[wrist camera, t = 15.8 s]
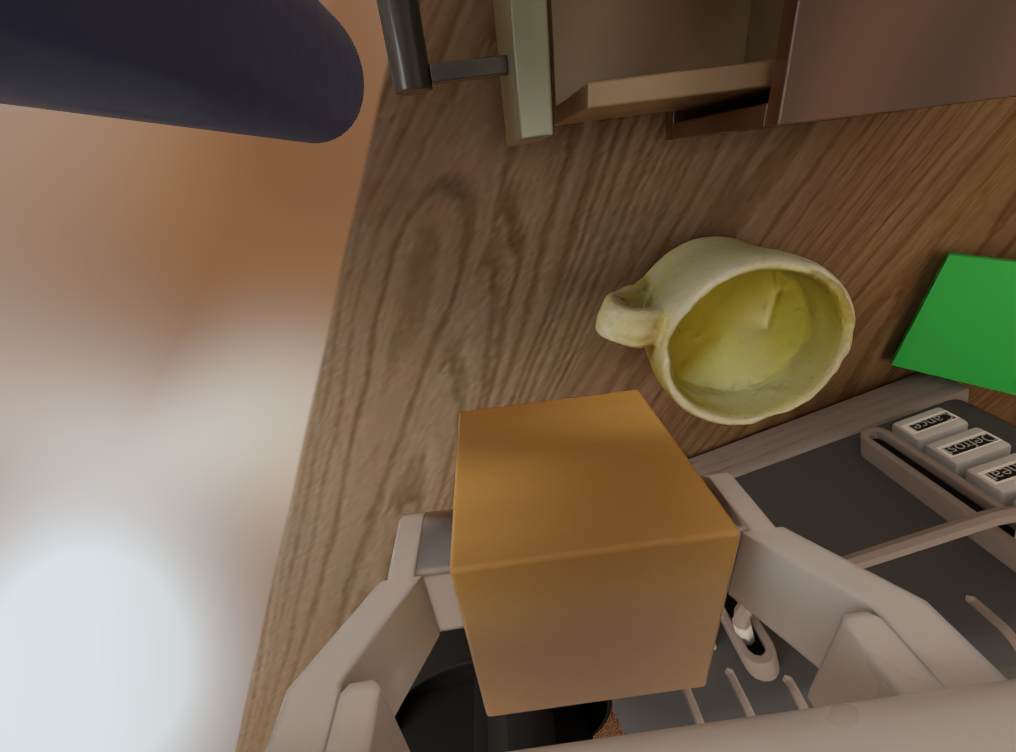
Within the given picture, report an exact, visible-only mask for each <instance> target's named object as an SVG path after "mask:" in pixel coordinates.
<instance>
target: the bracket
mask: <svg viewBox="0 0 1016 752" xmlns="http://www.w3.org/2000/svg"><path fill="white" fill-rule="evenodd" d="M891 365H893V366H897V367H901V368H905V369H909V370H914V371H918V372H922V373H926V374H930V375H934V376H938V377H943V378H947V379H951V380H955V381H959V382H963V383H967V384H971V385H976V386H980V387H984V388H988V389H992V390H996V391H1000V392H1005V393H1009V394H1013V395H1016V260H1013V259H1004V258H995V257H987V256H978V255H969V254H960V253H952V252H947V254H946V256H945V257H944V259H943V261H942V263H941V265H940V267H939V269H938V271H937V273H936V275H935V277H934V279H933V281H932V282H931V284H930V286H929V288H928V290H927V292H926V294H925V296H924V298H923V300H922V302H921V304H920V306H919V307H918V309H917V311H916V313H915V315H914V317H913V319H912V321H911V323H910V325H909V327H908V329H907V331H906V332H905V334H904V336H903V338H902V340H901V342H900V344H899V346H898V348H897V350H896V352H895V354H894V356H893V357H892V362H891Z"/></svg>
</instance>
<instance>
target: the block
mask: <svg viewBox="0 0 1016 752" xmlns="http://www.w3.org/2000/svg"><path fill="white" fill-rule="evenodd" d="M739 540H740V531H739V529H738V528H737V526H736V525H735V523H734V522H733V521H732V519H731V518H730V516H729V515H728V514H727V512H726V511H725V510H724V508H723V507H722V505H721V504H720V503H719V501H718V500H717V498H716V497H715V496H714V494H713V493H712V492H711V490H710V489H709V487H708V486H707V485H706V483H705V482H704V481H703V479H702V478H701V476H700V475H699V474H698V472H697V471H696V469H695V468H694V467H693V465H692V464H691V463H690V461H689V460H688V458H687V457H686V456H685V454H684V453H683V451H682V450H681V449H680V447H679V446H678V445H677V443H676V442H675V440H674V439H673V438H672V436H671V435H670V433H669V432H668V431H667V429H666V428H665V427H664V425H663V424H662V422H661V421H660V420H659V418H658V417H657V416H656V414H655V413H654V411H653V410H652V409H651V407H650V406H649V404H648V403H647V402H646V400H645V399H644V398H643V396H642V395H641V393H640V392H639V391H638V390H630V391H622V392H614V393H606V394H598V395H590V396H582V397H575V398H567V399H559V400H551V401H543V402H535V403H528V404H520V405H512V406H504V407H496V408H488V409H480V410H473V411H465V412H461V413H460V414H459V420H458V437H457V454H456V471H455V488H454V505H453V522H452V539H451V556H450V574H451V578H452V582H453V586H454V590H455V594H456V598H457V602H458V605H459V609H460V613H461V617H462V621H463V625H464V629H465V633H466V637H467V640H468V644H469V648H470V652H471V656H472V660H473V664H474V668H475V672H476V676H477V679H478V683H479V687H480V691H481V695H482V699H483V703H484V707H485V711H486V714H487V716H490V717H491V716H498V715H505V714H512V713H519V712H527V711H534V710H541V709H548V708H555V707H562V706H569V705H576V704H583V703H590V702H597V701H605V700H612V699H619V698H626V697H633V696H640V695H647V694H654V693H661V692H668V691H675V690H683V689H690V688H697V687H703V686H705V685H706V682H707V677H708V673H709V669H710V664H711V660H712V656H713V652H714V647H715V643H716V639H717V634H718V630H719V626H720V621H721V617H722V613H723V609H724V604H725V600H726V596H727V591H728V587H729V583H730V578H731V574H732V570H733V566H734V561H735V557H736V553H737V548H738V544H739Z"/></svg>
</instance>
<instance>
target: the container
mask: <svg viewBox="0 0 1016 752" xmlns="http://www.w3.org/2000/svg"><path fill="white" fill-rule="evenodd" d="M439 634H440V635H439V637H438V639H437V641H436V643H435V644H434V646H433V648H432V650H431V652H430V654H429V655H428V657H427V659H426V661H425V663H424V664H423V666H422V668H421V670H420V672H419V673H418V675H417V677H416V679H415V681H414V683H413V684H412V686H411V688H410V690H409V692H408V693H407V695H406V697H405V699H404V701H403V703H402V704H401V706H400V708H399V710H398V712H397V713H396V715H395V719H396V722H397V724H398V726H399V728H400V730H401V732H402V735H403V737H404V739H405V741H406V743H407V745H408V747H409V750H410V752H508V751H515V750H522V749H529V748H536V747H542V746H549V745H556V744H563V743H570V742H577V741H584V740H591V739H593V736H594V735H595V734H596V733H597V732H598V731H599V730H600V729H601V728H602V727H603V725H604V724H605V723H606V721H607V719H608V718H609V715H610V712H611V708H612V700H605V701H597V702H590V703H583V704H576V705H569V706H562V707H555V708H548V709H541V710H534V711H527V712H519V713H512V714H505V715H498V716H491V717H490V716H487V714H486V711H485V707H484V703H483V699H482V695H481V691H480V687H479V683H478V679H477V676H476V672H475V668H474V664H473V660H472V656H471V652H470V648H469V644H468V640H467V637H466V633H465V629H464V628H460V629H454V630H448V631H442V632H439Z"/></svg>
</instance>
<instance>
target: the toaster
mask: <svg viewBox="0 0 1016 752" xmlns="http://www.w3.org/2000/svg"><path fill="white" fill-rule="evenodd" d="M968 397H969V389H968V388H967V387H965V386H963V385H961V384H960V383H959V384H957V382H955V381H953V380H950V379H945V378H943V377H938V376H934V375H930V374H922V373H919V374H915V375H912V376H909V377H907V378H904V379H901V380H899V381H896V382H893V383H891V384H888V385H885V386H883V387H880V388H877V389H875V390H872V391H869V392H867V393H864V394H861V395H859V396H856V397H853V398H851V399H848V400H845V401H843V402H840V403H837V404H835V405H832V406H829V407H827V408H824V409H821V410H819V411H816V412H813V413H811V414H808V415H805V416H803V417H800V418H797V419H795V420H792V421H789V422H787V423H784V424H781V425H779V426H776V427H773V428H771V429H768V430H765V431H763V432H760V433H757V434H755V435H752V436H749V437H747V438H744V439H741V440H739V441H736V442H733V443H731V444H728V445H725V446H723V447H720V448H717V449H715V450H712V451H709V452H707V453H704V454H701V455H699V456H696V457H693V458H691V459H688V460H689V461H690V463H691V464H692V465H693V467H694V468H695V469H696V471H697V472H698V474H699V475H700V476H706V475H713V474H720V473H729V474H730V475H732V476H733V477H734V479H735V480H736V481H737V482H738V483H739V484H740V486H741V487H742V488H743V489H744V490H745V492H746V493H747V494H748V495H749V496H750V497H751V499H752V500H753V501H754V502H755V503H756V505H757V506H758V507H759V508H760V509H761V511H762V512H763V513H764V514H765V515H766V516H767V518H768V519H769V520H770V521H771V522H772V524H773V525H774V526H775V527H784V528H786V529H788V530H790V531H792V532H794V533H796V534H798V535H800V536H802V537H804V538H805V539H807V540H809V541H811V542H813V543H815V544H817V545H819V546H821V547H823V548H825V549H827V550H829V551H831V552H833V553H834V554H836V555H838V556H840V557H842V558H844V559H846V560H848V561H850V562H852V563H854V564H856V565H858V566H860V567H862V568H863V569H865V570H867V571H869V572H871V573H873V574H875V575H877V576H879V577H881V578H883V579H885V580H887V581H889V582H890V583H892V584H894V585H896V586H898V587H900V588H902V589H904V590H906V591H908V592H910V593H912V594H914V595H916V596H918V597H919V598H921V599H923V600H925V601H927V602H928V603H929V604H930V605H931V606H932V607H933V608H934V609H935V610H936V611H937V612H938V613H939V614H940V615H941V616H942V617H943V618H944V619H945V620H946V621H947V622H949V623H950V624H951V625H952V626H953V627H954V628H955V629H956V630H957V631H958V632H959V633H960V634H961V635H962V636H963V637H964V638H965V639H966V640H967V641H968V642H969V643H970V644H971V645H972V646H973V647H974V648H975V649H976V650H977V651H978V652H979V653H981V654H982V655H983V656H984V657H985V658H986V659H987V660H988V661H989V662H990V663H991V664H992V665H993V666H994V667H995V668H996V669H997V670H998V671H999V672H1000V673H1001V674H1002V675H1003V676H1004V677H1005V678H1006V679H1007V680H1009V679H1016V426H1015V425H1013V424H1011V423H1009V422H1007V421H1005V420H1002V419H1000V418H998V417H996V416H994V415H992V414H990V413H988V412H986V411H984V410H982V409H980V408H978V407H976V406H974V405H972V404H969V403H968ZM818 669H819V668H818V667H817V666H815V665H814V664H813V663H812V662H810V661H809V660H808V659H807V658H806V657H804V656H803V655H802V654H801V653H799V652H798V651H797V650H796V649H795V648H793V647H792V646H791V645H790V644H788V643H787V642H786V641H785V640H784V639H782V638H781V637H780V636H779V635H777V634H776V633H775V632H774V631H773V630H771V629H770V628H769V627H768V626H767V625H765V624H764V623H763V622H762V621H760V620H759V619H758V618H757V617H756V616H754V615H753V614H752V613H751V612H749V611H748V610H747V609H746V608H745V607H743V606H742V605H741V604H740V603H738V602H737V601H736V600H735V599H734V598H732V597H731V596H730V595H729V592H727V596H726V600H725V604H724V609H723V613H722V617H721V621H720V626H719V630H718V634H717V639H716V643H715V647H714V652H713V656H712V660H711V664H710V669H709V673H708V677H707V682H706V685H705V686H703V687H697V688H690V689H683V690H675V691H668V692H661V693H654V694H647V695H640V696H633V697H626V698H619V699H612V704H613V708H614V712H615V715H616V717H617V719H618V721H619V723H620V725H621V728H622V730H623V732H624V734H625V735H626V734H633V733H640V732H647V731H654V730H661V729H668V728H675V727H682V726H689V725H696V724H703V723H710V722H716V721H723V720H730V719H737V718H744V717H751V716H758V715H765V714H772V713H779V712H786V711H793V710H800V709H807V708H814V707H813V705H812V704H811V702H810V700H809V699H808V693H809V690H810V687H811V685H812V683H813V680H814V678H815V676H816V674H817V672H818Z"/></svg>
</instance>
